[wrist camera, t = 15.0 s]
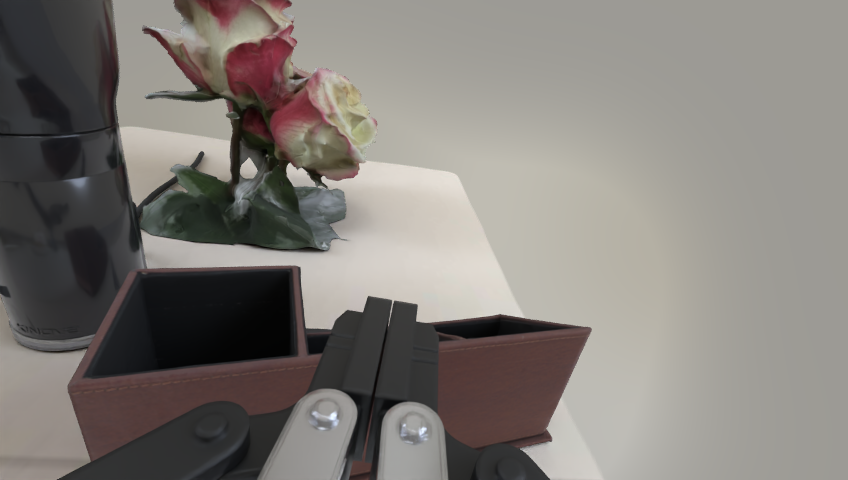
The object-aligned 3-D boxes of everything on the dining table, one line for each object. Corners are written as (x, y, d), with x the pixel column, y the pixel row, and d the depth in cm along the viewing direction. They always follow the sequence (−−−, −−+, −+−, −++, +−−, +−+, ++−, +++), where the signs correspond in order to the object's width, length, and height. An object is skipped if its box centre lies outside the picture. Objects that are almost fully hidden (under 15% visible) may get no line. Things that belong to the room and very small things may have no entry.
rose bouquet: (364, 259, 52) (394, -3, 39) (118, 237, 47) (56, -73, 34) (368, 191, 74) (387, 11, 61) (202, 171, 69) (185, -29, 56)
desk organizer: (150, 392, 29) (124, 263, 24) (491, 350, 40) (522, 254, 35) (98, 550, 21) (42, 399, 16) (552, 443, 31) (604, 333, 26)
